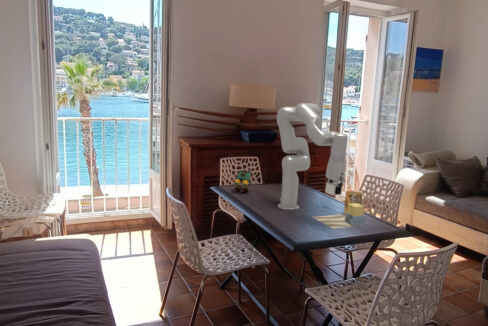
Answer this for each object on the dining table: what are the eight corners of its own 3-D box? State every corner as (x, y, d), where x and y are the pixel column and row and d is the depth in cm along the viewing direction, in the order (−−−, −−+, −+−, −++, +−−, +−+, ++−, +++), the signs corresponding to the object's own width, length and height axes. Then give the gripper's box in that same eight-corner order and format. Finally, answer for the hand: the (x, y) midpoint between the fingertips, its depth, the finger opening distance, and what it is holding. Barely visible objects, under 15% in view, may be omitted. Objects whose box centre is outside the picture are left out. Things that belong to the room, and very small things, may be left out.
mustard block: (346, 212, 204) (347, 203, 204) (355, 212, 207) (356, 203, 206) (354, 216, 199) (355, 207, 198) (363, 215, 201) (364, 206, 201)
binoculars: (232, 195, 265) (229, 179, 255) (238, 182, 275) (235, 166, 265) (252, 198, 261) (250, 181, 251) (257, 184, 271) (255, 168, 261)
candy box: (359, 217, 219) (362, 191, 216) (359, 219, 215) (362, 192, 212) (343, 215, 221) (346, 189, 219) (343, 217, 217) (346, 191, 214)
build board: (311, 219, 211) (312, 208, 210) (341, 216, 219) (342, 205, 218) (332, 230, 194) (333, 218, 193) (364, 227, 202) (365, 215, 201)
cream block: (325, 192, 200) (326, 182, 199) (334, 191, 202) (335, 182, 201) (332, 195, 194) (333, 185, 193) (342, 194, 197) (343, 185, 196)
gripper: (321, 154, 201) (318, 188, 204) (342, 161, 185) (338, 197, 189) (333, 154, 204) (329, 187, 207) (354, 161, 188) (350, 196, 192)
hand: (333, 192), depth 198 cm, fingers closed on cream block, 6 cm apart
